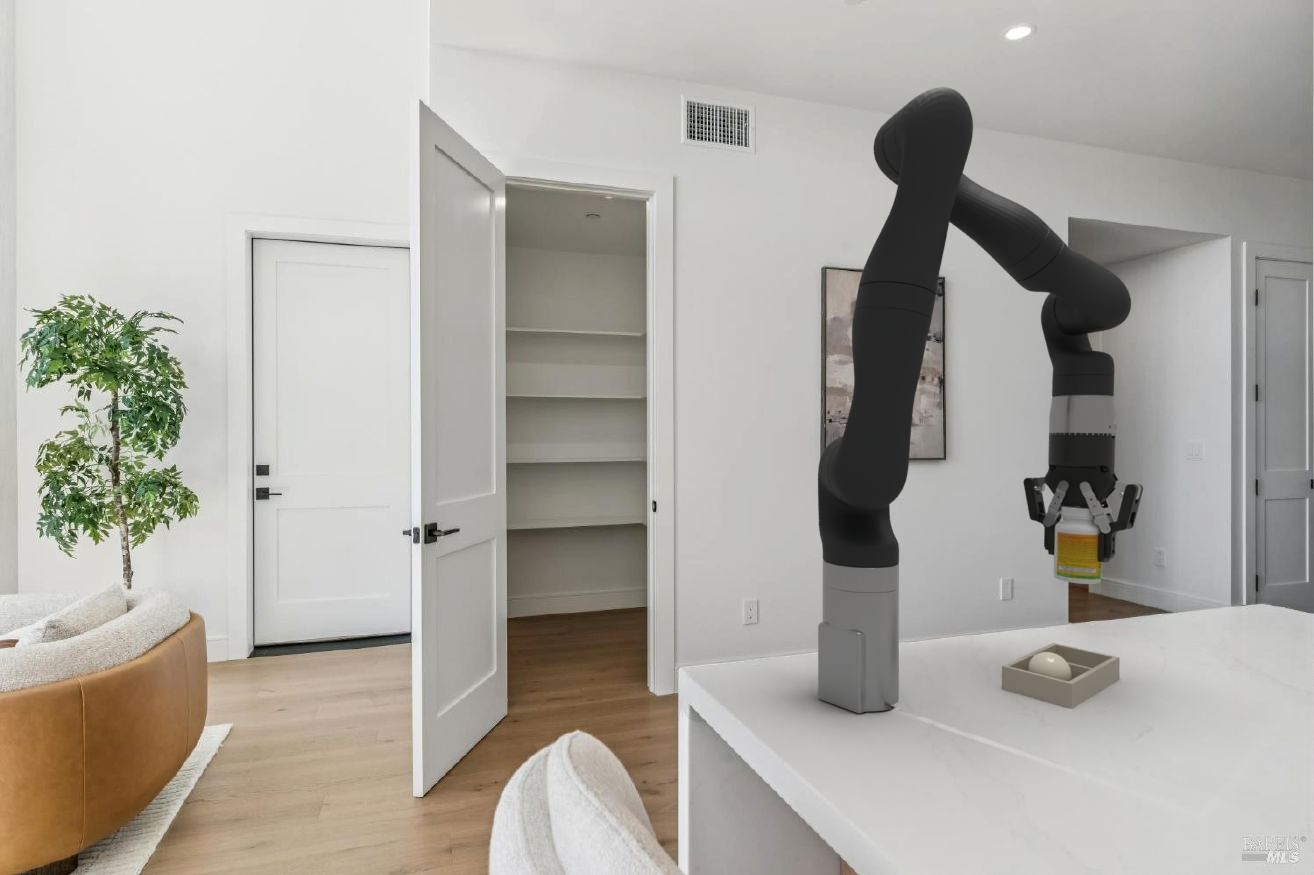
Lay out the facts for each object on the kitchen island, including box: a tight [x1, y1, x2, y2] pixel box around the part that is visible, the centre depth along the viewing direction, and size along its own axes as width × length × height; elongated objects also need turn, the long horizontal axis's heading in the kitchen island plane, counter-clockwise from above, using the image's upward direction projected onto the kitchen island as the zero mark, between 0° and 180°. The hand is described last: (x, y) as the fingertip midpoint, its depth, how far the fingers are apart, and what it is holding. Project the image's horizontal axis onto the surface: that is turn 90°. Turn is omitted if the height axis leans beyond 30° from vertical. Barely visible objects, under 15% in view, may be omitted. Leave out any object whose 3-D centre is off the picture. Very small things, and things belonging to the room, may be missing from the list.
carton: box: [1001, 642, 1121, 710], centre depth 90 cm, size 16×8×4 cm, turn 129°
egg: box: [1028, 652, 1072, 682], centre depth 87 cm, size 5×5×5 cm
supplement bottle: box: [1053, 506, 1103, 585], centre depth 91 cm, size 5×5×10 cm
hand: (1078, 557), depth 91 cm, fingers closed on supplement bottle, 5 cm apart
